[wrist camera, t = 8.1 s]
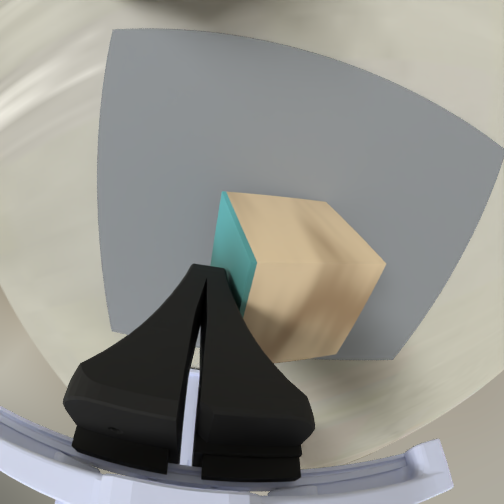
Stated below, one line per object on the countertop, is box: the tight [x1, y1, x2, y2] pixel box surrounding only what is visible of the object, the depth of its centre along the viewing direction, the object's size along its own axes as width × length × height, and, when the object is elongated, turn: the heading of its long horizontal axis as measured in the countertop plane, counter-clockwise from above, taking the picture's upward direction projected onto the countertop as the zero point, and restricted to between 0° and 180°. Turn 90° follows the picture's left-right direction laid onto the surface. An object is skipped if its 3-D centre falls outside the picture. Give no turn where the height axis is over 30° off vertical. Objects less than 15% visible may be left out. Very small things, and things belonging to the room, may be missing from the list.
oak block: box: [210, 191, 386, 363], centre depth 13 cm, size 6×6×6 cm
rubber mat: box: [97, 29, 504, 360], centre depth 16 cm, size 20×24×1 cm
